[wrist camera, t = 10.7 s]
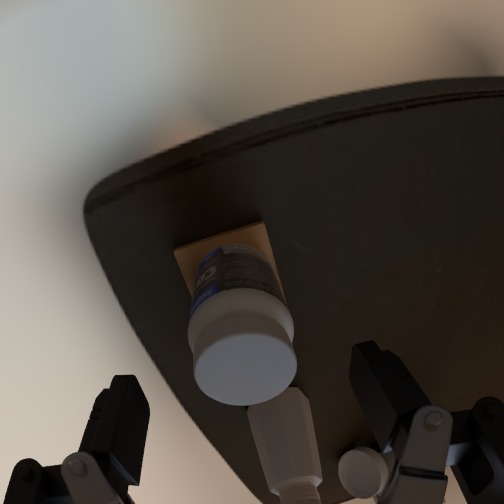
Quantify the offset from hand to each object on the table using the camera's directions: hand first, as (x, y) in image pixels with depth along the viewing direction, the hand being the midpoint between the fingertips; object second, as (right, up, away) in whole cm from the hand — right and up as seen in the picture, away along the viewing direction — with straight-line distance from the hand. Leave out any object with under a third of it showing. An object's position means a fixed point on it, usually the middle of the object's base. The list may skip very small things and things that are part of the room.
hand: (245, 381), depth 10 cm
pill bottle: (-1, +3, +9) cm, 9 cm away
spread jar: (+16, -21, +20) cm, 33 cm away
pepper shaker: (+2, -8, +14) cm, 16 cm away
